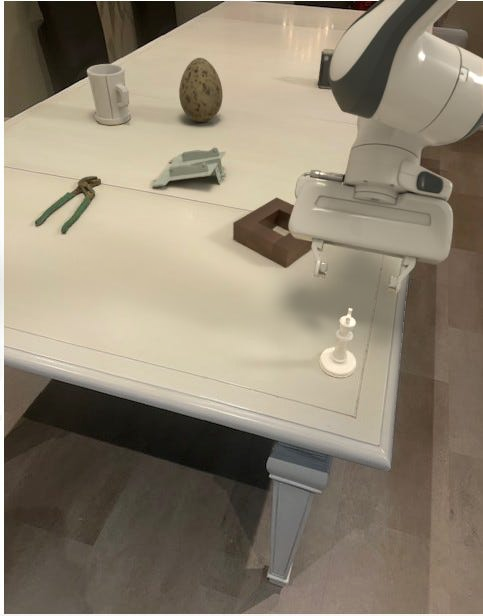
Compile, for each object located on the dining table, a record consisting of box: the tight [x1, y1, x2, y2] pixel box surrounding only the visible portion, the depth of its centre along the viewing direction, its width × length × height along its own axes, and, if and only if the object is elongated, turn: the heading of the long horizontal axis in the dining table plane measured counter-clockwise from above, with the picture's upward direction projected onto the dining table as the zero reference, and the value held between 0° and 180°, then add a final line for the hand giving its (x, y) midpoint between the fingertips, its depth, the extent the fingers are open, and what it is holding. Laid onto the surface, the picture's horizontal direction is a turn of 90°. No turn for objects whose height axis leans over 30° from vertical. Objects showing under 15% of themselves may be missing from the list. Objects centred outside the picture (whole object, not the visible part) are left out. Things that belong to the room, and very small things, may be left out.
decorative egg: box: [178, 57, 224, 123], centre depth 120 cm, size 11×11×15 cm
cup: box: [86, 63, 131, 126], centre depth 120 cm, size 10×9×12 cm
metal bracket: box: [151, 146, 227, 188], centre depth 102 cm, size 14×6×15 cm
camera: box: [317, 48, 335, 90], centre depth 142 cm, size 11×6×10 cm, turn 73°
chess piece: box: [318, 307, 357, 379], centre depth 62 cm, size 5×5×10 cm
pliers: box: [34, 175, 102, 234], centre depth 93 cm, size 20×7×1 cm, turn 165°
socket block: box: [232, 196, 312, 268], centre depth 85 cm, size 12×12×4 cm
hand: (355, 284), depth 62 cm, fingers open, 8 cm apart
